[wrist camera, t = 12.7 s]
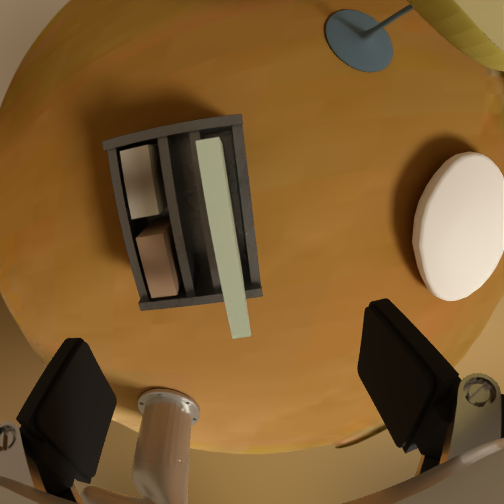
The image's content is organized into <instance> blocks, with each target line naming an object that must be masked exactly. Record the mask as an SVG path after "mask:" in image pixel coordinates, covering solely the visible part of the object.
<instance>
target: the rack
mask: <svg viewBox="0 0 504 504" xmlns="http://www.w3.org/2000/svg"><path fill="white" fill-rule="evenodd" d="M242 124H243V121H242V114H235V115H227V116H219V117H212V118H205V119H199V120H193V121H187V122H182V123H176V124H171V125H166V126H161V127H157V128H152V129H148V130H143V131H139V132H135V133H131V134H127V135H123V136H119V137H116V138H112V139H109V140H105V141H102V143H103V151H107V152H108V159H109V166H110V172H111V178H112V184H113V190H114V195H115V200H116V205H117V210H118V215H119V220H120V224H121V229H122V233H123V237H124V241H125V245H126V249H127V253H128V257H129V261H130V265H131V268H132V272H133V275H134V279H135V282H136V286H137V289H138V292H139V296H140V301H139V303H138V304H139V307H140V310H141V311H144V310H154V309H164V308H174V307H183V306H192V305H201V304H209V303H217V302H225V301H224V297H223V292H222V287H221V282H220V277H219V272H218V267H217V262H216V257H215V252H214V246H213V241H212V236H211V230H210V225H209V220H208V214H207V208H206V203H205V197H204V191H203V185H202V179H201V173H200V167H199V161H198V154H197V148H196V141H198V140H203V139H209V138H215V137H219V138H220V140H221V142H222V144H223V149H224V155H225V162H226V169H227V175H228V182H229V188H230V195H231V201H232V208H233V214H234V220H235V227H236V233H237V239H238V246H239V252H240V259H241V267H242V274H243V281H244V288H245V296H246V299H247V298H254V297H261V296H263V295H262V287H261V283H260V274H259V265H258V256H257V247H256V238H255V229H254V221H253V212H252V203H251V195H250V186H249V178H248V169H247V160H246V152H245V144H244V135H243V127H242ZM144 145H158V146H159V153H160V161H161V167H162V174H163V180H164V187H165V193H166V198H167V204H168V206H167V207H166V208H165V209H164V210H163V211H162V212H161V213H160V214H158V215H152V216H147V217H141V218H136V219H132V218H131V214H130V209H129V204H128V198H127V193H126V187H125V182H124V176H123V169H122V163H121V156H120V151H123V150H127V149H131V148H135V147H140V146H144ZM166 217H170V221H171V226H172V231H173V236H174V241H175V246H176V251H177V256H178V260H179V265H180V269H181V274H182V281H181V284H180V287H179V291H178V294H177V295H174V296H165V297H156V298H152V297H151V294H150V291H149V287H148V284H147V280H146V276H145V273H144V269H143V265H142V261H141V257H140V253H139V249H138V245H137V241H136V237H137V236H138V235H139V234H140V233H141V232H142V231H143V230H144V229H145V228H146V227H147V226H148V225H149V224H150V223H151V222H152V221H153V220H154V219H160V218H166Z"/></svg>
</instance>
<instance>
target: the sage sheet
mask: <svg viewBox="0 0 504 504" xmlns="http://www.w3.org/2000/svg"><path fill="white" fill-rule="evenodd" d="M196 148H197V154H198V161H199V167H200V173H201V179H202V185H203V191H204V197H205V203H206V208H207V214H208V220H209V225H210V230H211V236H212V241H213V246H214V252H215V257H216V262H217V267H218V272H219V277H220V282H221V287H222V292H223V297H224V301H225V306H226V311H227V316H228V320H229V325H230V329H231V334H232V338H233V339H235V338H242V337H248V336H251V331H250V324H249V317H248V310H247V303H246V296H245V288H244V281H243V274H242V267H241V259H240V252H239V246H238V239H237V233H236V227H235V220H234V214H233V208H232V201H231V195H230V188H229V182H228V175H227V169H226V162H225V155H224V149H223V144H222V142H221V140H220V138H219V137H215V138H209V139H203V140H198V141H196Z"/></svg>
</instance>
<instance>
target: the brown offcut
mask: <svg viewBox="0 0 504 504" xmlns="http://www.w3.org/2000/svg"><path fill="white" fill-rule="evenodd" d="M120 156H121V163H122V169H123V176H124V182H125V187H126V193H127V198H128V204H129V209H130V214H131V218H132V219H136V218H141V217H147V216H152V215H158V214H160V213H161V212H162V211H163V210H164V209H165V208H166V207H167V206H168V204H167V198H166V193H165V187H164V180H163V174H162V167H161V161H160V153H159V146H158V145H144V146H140V147H135V148H131V149H127V150H123V151H120Z"/></svg>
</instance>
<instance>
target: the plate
mask: <svg viewBox="0 0 504 504" xmlns="http://www.w3.org/2000/svg"><path fill="white" fill-rule="evenodd" d="M412 245H413V249H414V254H415V258H416V263H417V267H418V270H419V272H420V275H421V277H422V279H423V281H424V283H425V285H426V287H427V289H428V290H429V291H430V292H431V293H432V294H433V295H434V296H436V297H438V298H441V299H443V300H446V301H456V300H459V299H462V298H465V297H467V296H469V295H470V294H471V293H473V292H474V291H475V290H477V289H478V288H479V287H481V286H482V285H483V283H484V282H485V281H486V280H487V279H488V278H489V277H490V275H491V274H492V272H493V271H494V269H495V268H496V266H497V264H498V262H499V260H500V258H501V256H502V253H503V250H504V177H503V175H502V173H501V172H500V170H499V168H498V167H497V166H496V165H495V164H494V163H493V162H492V160H491V159H489V158H488V157H486V156H484V155H483V154H480V153H476V152H465V153H461V154H456V155H454V156H452V157H451V158H449V159H448V160H446V161H445V162H444V163H443V164H442V166H441V167H440V168H439V169H438V170H437V171H436V172H435V174H434V175H433V177H432V178H431V180H430V181H429V183H428V184H427V186H426V188H425V190H424V192H423V194H422V196H421V198H420V200H419V202H418V206H417V209H416V213H415V216H414V226H413V236H412Z"/></svg>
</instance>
